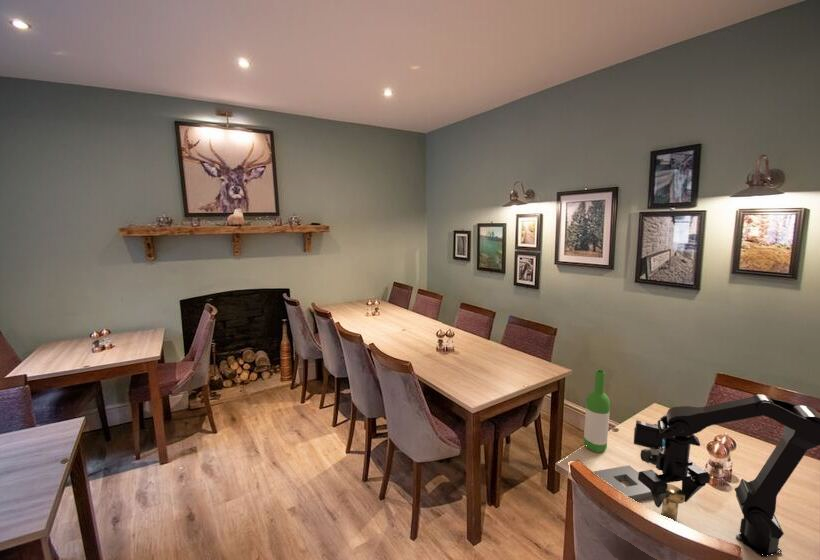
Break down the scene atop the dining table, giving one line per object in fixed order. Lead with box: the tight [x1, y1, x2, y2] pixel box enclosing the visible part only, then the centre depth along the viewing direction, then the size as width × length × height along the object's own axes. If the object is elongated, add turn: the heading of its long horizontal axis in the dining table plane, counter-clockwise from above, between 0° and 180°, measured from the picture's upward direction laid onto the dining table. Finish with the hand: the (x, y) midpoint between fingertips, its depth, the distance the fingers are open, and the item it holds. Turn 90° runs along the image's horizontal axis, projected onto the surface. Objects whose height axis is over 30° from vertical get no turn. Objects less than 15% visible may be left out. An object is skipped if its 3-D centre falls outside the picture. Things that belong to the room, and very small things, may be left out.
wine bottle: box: [583, 369, 611, 453], centre depth 135 cm, size 8×8×30 cm
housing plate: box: [592, 464, 653, 502], centre depth 117 cm, size 12×14×2 cm
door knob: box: [661, 483, 685, 522], centre depth 105 cm, size 6×6×8 cm
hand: (670, 503), depth 104 cm, fingers open, 9 cm apart
